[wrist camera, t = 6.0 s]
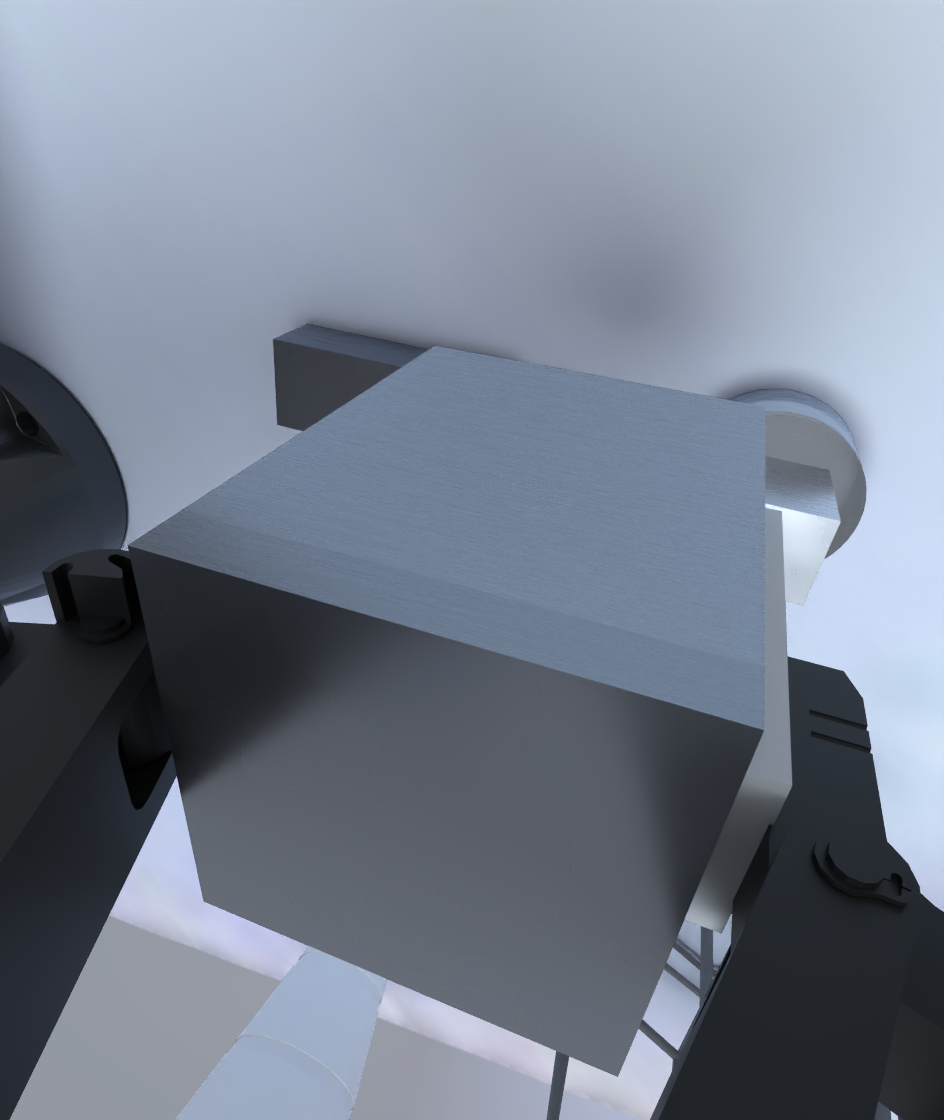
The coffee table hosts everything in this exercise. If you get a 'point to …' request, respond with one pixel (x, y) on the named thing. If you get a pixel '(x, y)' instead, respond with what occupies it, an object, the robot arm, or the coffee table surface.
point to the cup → (298, 1048)
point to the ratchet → (791, 417)
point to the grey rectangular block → (473, 682)
